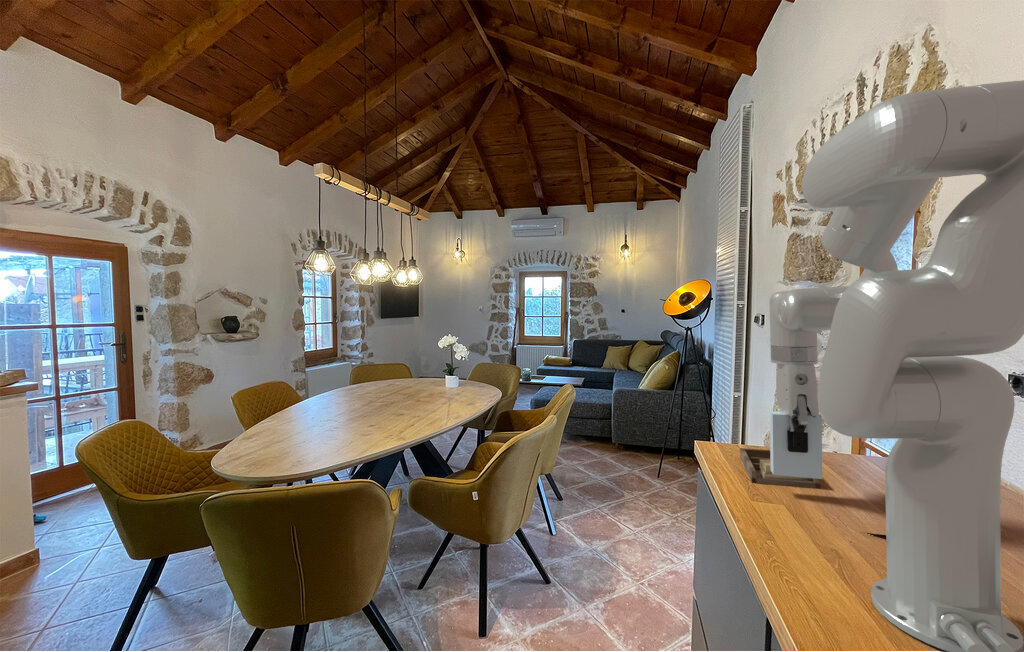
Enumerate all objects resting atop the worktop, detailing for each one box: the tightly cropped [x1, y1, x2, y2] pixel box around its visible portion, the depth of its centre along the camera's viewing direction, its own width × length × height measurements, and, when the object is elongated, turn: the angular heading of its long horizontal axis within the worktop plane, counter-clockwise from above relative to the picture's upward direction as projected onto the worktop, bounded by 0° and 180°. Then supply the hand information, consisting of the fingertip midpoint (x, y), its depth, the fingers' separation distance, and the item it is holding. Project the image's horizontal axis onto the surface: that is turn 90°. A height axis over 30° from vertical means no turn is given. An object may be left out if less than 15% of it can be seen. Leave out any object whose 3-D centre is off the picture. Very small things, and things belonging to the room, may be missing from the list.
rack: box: [739, 447, 821, 490], centre depth 93 cm, size 15×12×4 cm
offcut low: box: [761, 469, 803, 481], centre depth 89 cm, size 4×7×2 cm, turn 70°
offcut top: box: [760, 459, 773, 474], centre depth 89 cm, size 4×6×2 cm, turn 78°
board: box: [769, 410, 823, 480], centre depth 81 cm, size 2×8×12 cm, turn 70°
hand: (795, 448), depth 81 cm, fingers closed on board, 2 cm apart
